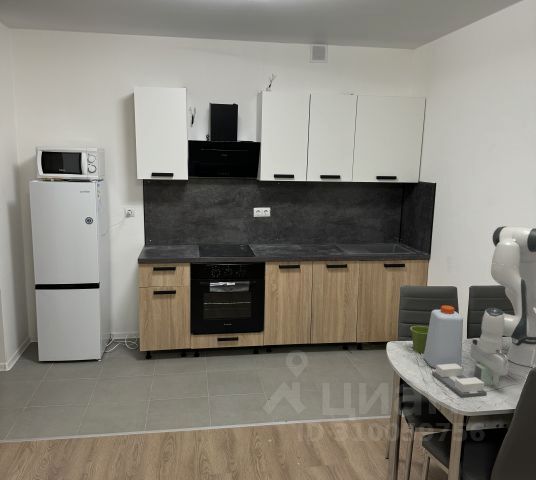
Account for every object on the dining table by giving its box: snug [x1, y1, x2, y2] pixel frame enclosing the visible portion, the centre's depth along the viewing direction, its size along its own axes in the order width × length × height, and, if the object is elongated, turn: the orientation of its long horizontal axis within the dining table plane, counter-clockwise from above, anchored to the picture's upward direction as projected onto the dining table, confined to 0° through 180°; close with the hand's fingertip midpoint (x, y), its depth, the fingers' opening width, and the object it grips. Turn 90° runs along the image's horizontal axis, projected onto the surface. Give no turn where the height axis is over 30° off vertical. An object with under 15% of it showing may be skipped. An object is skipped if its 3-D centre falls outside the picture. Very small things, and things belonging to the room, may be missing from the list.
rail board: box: [431, 364, 488, 399], centre depth 204 cm, size 12×21×5 cm, turn 14°
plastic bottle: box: [423, 305, 464, 369], centre depth 224 cm, size 15×15×28 cm
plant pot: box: [409, 325, 429, 354], centre depth 240 cm, size 12×12×11 cm
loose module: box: [473, 363, 500, 386], centre depth 208 cm, size 9×4×8 cm, turn 104°
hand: (486, 375), depth 208 cm, fingers open, 8 cm apart
